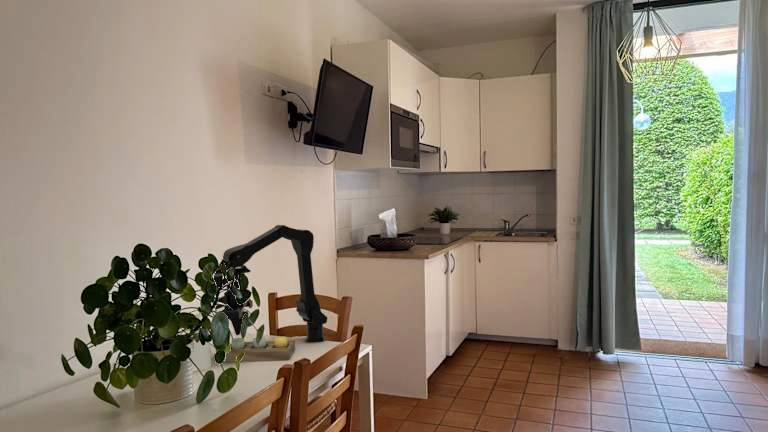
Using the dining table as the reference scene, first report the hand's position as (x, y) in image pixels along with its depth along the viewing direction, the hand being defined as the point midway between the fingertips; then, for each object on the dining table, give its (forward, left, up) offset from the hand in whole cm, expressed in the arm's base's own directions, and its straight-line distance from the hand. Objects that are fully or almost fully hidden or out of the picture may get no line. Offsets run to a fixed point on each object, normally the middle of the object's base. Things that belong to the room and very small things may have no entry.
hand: (237, 334), depth 174 cm
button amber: (0, +14, -6) cm, 15 cm away
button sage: (0, 0, -6) cm, 6 cm away
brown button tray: (0, +7, -7) cm, 10 cm away
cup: (+10, -10, -7) cm, 16 cm away
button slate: (0, +7, -5) cm, 9 cm away
